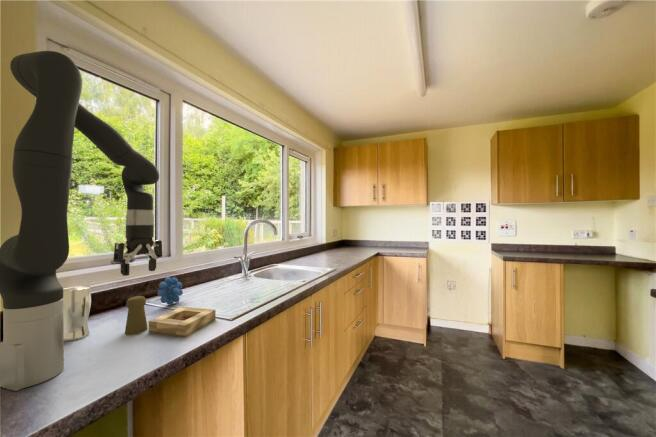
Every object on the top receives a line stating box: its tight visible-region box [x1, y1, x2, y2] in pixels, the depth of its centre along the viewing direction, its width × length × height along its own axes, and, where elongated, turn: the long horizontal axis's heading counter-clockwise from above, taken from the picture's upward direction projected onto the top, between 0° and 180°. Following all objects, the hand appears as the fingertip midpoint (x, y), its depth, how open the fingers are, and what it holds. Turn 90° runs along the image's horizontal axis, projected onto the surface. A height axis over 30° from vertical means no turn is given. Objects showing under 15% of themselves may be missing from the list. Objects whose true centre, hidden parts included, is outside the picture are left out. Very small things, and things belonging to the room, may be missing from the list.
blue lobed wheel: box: [157, 276, 183, 306], centre depth 109 cm, size 12×7×12 cm, turn 164°
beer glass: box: [63, 285, 92, 342], centre depth 80 cm, size 7×7×15 cm
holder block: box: [148, 306, 216, 338], centre depth 88 cm, size 14×14×4 cm
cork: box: [124, 295, 149, 336], centre depth 84 cm, size 6×6×11 cm
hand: (139, 273), depth 86 cm, fingers open, 8 cm apart
